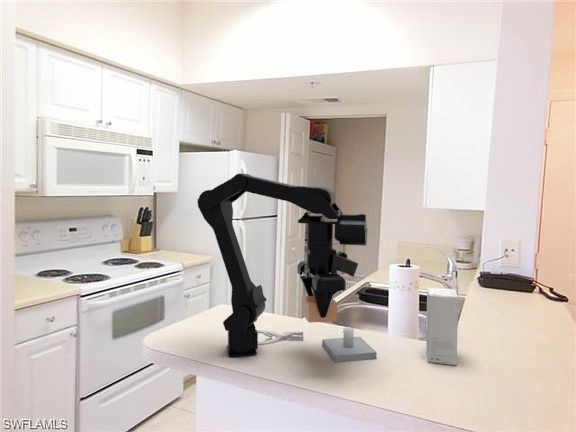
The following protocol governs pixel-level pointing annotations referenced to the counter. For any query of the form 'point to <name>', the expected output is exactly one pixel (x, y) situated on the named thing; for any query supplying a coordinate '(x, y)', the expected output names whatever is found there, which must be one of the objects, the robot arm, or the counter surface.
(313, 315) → the collar
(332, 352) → the grey peg base
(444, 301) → the skincare box
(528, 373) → the counter surface
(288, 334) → the pliers
